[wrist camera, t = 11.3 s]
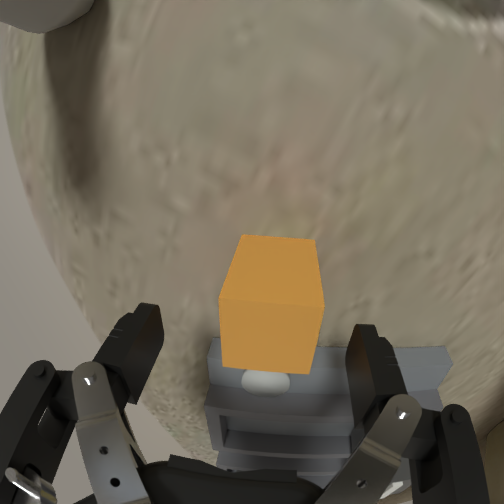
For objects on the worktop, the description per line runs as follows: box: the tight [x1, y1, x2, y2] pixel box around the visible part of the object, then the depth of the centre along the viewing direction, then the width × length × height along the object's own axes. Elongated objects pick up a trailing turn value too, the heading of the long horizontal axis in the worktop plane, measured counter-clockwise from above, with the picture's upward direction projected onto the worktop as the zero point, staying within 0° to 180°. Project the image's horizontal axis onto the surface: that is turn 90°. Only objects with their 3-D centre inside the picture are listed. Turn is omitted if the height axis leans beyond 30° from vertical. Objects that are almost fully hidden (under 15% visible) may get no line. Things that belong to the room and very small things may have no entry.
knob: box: [351, 427, 411, 499], centre depth 17 cm, size 4×4×7 cm
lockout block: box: [219, 235, 325, 374], centre depth 14 cm, size 4×4×6 cm
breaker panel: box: [204, 337, 453, 489], centre depth 23 cm, size 18×26×4 cm
